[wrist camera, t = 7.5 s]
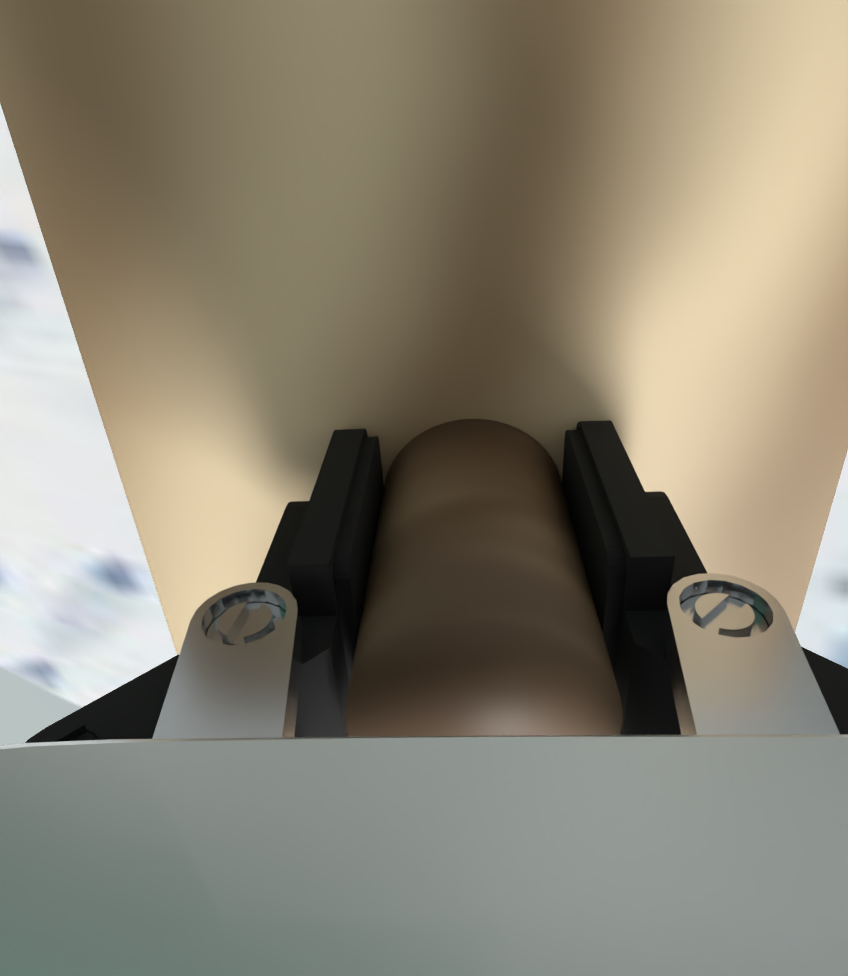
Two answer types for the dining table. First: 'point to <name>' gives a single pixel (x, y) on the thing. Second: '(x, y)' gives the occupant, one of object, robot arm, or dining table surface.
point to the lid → (451, 299)
